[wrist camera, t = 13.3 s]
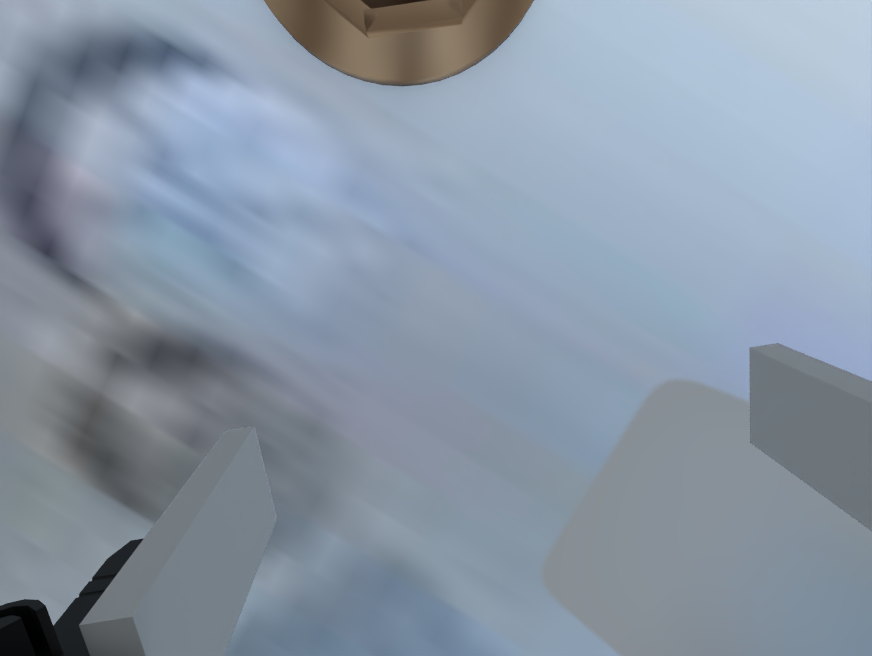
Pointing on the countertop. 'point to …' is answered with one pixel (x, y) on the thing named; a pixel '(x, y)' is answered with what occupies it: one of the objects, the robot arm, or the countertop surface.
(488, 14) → the hub trivet
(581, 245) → the countertop surface
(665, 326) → the countertop surface
